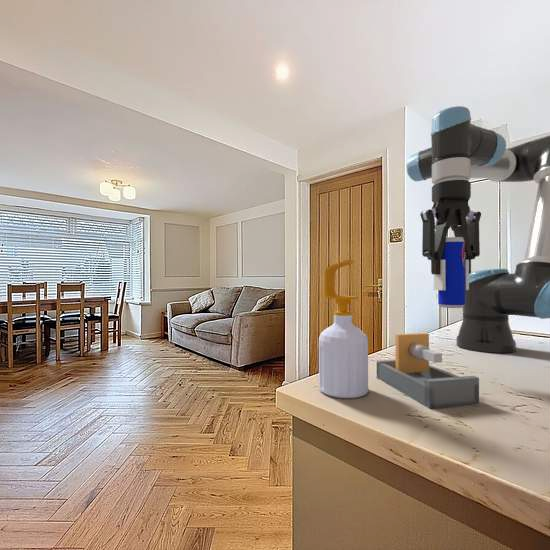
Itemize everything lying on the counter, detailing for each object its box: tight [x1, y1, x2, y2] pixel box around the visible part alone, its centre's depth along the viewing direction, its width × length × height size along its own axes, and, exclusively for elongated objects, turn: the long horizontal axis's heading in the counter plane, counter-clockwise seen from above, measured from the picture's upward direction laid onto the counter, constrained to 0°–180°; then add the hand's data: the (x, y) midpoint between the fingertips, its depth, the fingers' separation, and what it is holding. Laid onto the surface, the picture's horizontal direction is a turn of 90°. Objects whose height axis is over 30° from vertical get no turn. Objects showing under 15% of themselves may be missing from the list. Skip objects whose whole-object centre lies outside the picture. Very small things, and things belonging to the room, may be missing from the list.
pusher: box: [395, 332, 443, 373], centre depth 63 cm, size 7×8×8 cm
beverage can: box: [437, 236, 466, 309], centre depth 73 cm, size 5×5×15 cm
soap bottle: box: [318, 259, 369, 399], centre depth 63 cm, size 9×9×25 cm
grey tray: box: [376, 358, 480, 409], centre depth 64 cm, size 10×17×4 cm, turn 12°
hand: (451, 289), depth 73 cm, fingers closed on beverage can, 5 cm apart
